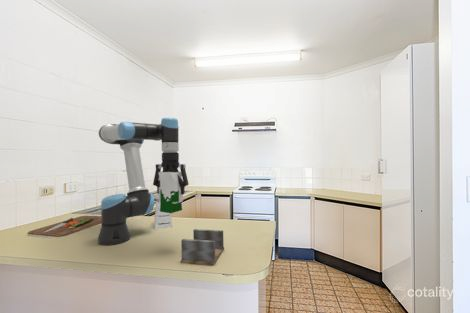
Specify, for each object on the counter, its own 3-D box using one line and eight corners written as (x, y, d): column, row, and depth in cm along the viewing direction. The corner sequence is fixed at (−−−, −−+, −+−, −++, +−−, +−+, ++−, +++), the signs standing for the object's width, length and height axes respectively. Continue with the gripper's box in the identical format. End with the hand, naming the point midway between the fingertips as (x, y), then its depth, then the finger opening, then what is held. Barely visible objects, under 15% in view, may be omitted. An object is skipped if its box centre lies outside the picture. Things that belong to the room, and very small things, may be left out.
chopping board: (57, 239, 132) (57, 234, 132) (20, 236, 138) (19, 230, 138) (117, 218, 175) (116, 213, 175) (86, 216, 182) (86, 212, 182)
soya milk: (171, 208, 118) (170, 166, 118) (185, 210, 113) (184, 167, 113) (156, 211, 110) (156, 167, 110) (171, 214, 106) (170, 168, 105)
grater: (171, 222, 160) (170, 192, 159) (172, 227, 150) (172, 194, 150) (154, 224, 156) (153, 193, 156) (154, 229, 146) (154, 195, 146)
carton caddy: (180, 262, 100) (180, 241, 100) (195, 247, 116) (195, 228, 116) (213, 265, 97) (213, 243, 97) (224, 249, 114) (223, 229, 113)
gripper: (144, 152, 110) (144, 202, 110) (189, 151, 106) (190, 203, 106) (152, 152, 117) (153, 199, 118) (195, 151, 113) (196, 200, 113)
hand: (171, 201), depth 112 cm, fingers closed on soya milk, 9 cm apart
